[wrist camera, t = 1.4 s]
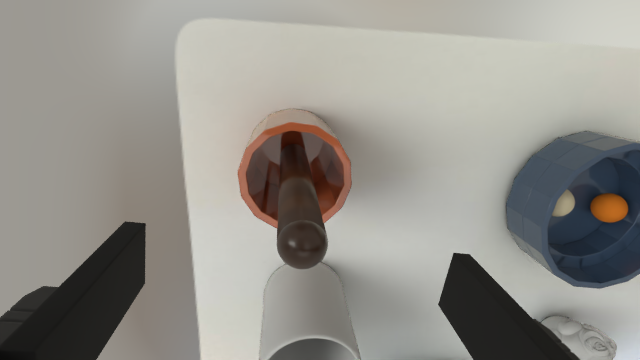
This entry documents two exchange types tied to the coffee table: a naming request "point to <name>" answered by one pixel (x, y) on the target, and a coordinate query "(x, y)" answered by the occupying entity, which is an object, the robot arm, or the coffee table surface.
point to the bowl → (579, 209)
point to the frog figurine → (582, 338)
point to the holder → (264, 163)
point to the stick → (299, 212)
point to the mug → (306, 316)
